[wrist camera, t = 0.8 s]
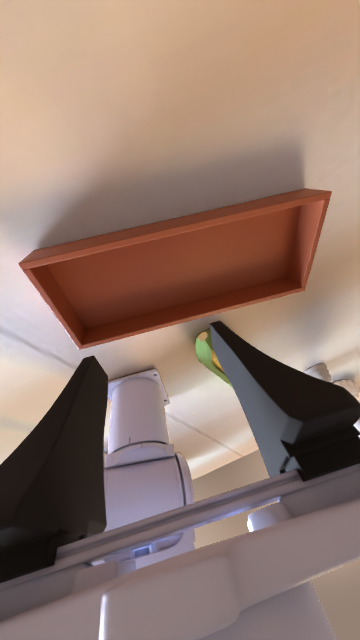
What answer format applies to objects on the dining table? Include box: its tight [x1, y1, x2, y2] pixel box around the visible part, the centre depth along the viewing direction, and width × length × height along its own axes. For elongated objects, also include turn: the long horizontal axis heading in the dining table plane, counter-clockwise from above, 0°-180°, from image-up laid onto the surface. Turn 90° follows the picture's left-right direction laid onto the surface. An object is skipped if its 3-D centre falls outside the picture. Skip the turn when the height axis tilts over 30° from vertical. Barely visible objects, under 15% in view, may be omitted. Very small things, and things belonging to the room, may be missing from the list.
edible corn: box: [195, 329, 232, 387], centre depth 28 cm, size 5×20×5 cm, turn 36°
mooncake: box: [333, 380, 360, 402], centre depth 45 cm, size 12×12×4 cm
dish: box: [19, 189, 332, 350], centre depth 19 cm, size 9×24×3 cm, turn 99°
